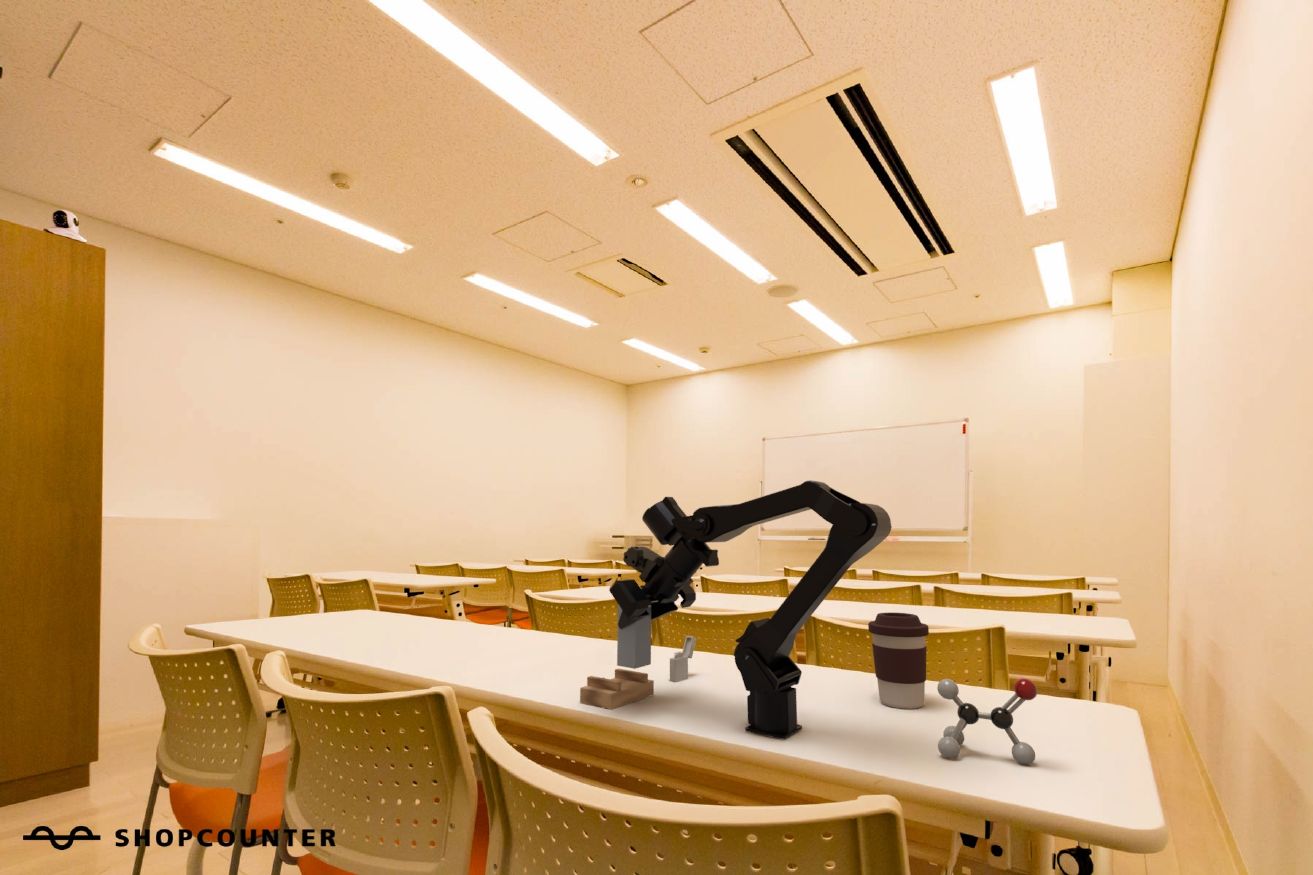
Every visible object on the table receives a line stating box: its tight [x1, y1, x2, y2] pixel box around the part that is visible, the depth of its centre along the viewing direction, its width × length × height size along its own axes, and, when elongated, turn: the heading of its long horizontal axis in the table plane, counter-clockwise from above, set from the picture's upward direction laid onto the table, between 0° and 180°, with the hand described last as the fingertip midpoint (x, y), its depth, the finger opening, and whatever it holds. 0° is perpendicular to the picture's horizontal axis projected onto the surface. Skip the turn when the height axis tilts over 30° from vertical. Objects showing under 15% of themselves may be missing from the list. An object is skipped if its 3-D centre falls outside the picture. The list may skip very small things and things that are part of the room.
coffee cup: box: [867, 612, 930, 710], centre depth 111 cm, size 10×10×15 cm
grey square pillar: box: [616, 603, 652, 670], centre depth 112 cm, size 4×4×13 cm
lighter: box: [669, 635, 697, 683], centre depth 129 cm, size 7×2×8 cm, turn 141°
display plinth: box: [579, 668, 655, 710], centre depth 113 cm, size 7×12×4 cm, turn 143°
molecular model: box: [936, 677, 1038, 766], centre depth 85 cm, size 8×12×11 cm
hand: (628, 625), depth 113 cm, fingers closed on grey square pillar, 4 cm apart
